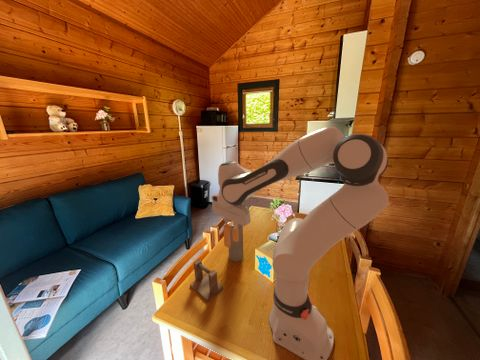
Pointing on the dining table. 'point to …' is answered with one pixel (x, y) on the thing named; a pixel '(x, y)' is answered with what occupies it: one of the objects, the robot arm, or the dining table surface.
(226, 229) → the cord bight
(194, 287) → the hook rail
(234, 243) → the thermos bottle
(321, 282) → the dining table surface
